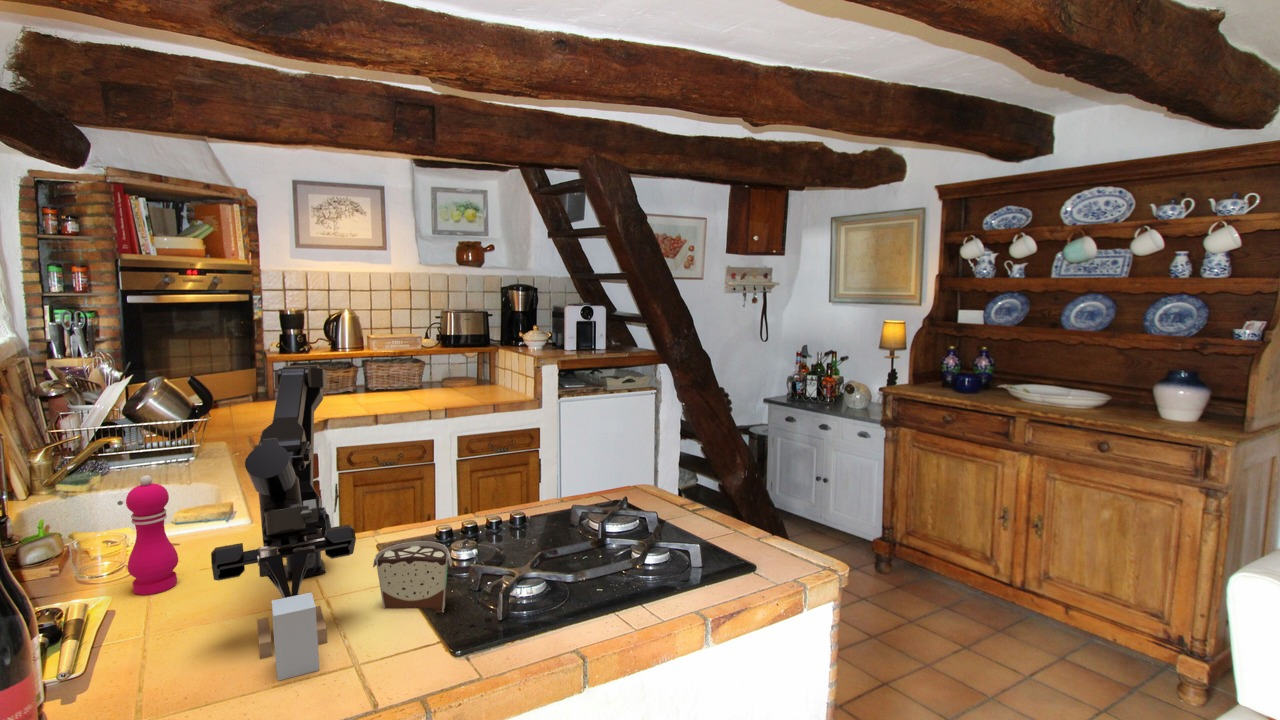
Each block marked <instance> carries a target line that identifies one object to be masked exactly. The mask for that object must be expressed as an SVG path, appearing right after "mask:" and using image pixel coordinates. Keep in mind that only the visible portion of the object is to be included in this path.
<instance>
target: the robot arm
mask: <svg viewBox="0 0 1280 720" xmlns="http://www.w3.org/2000/svg"><path fill="white" fill-rule="evenodd" d="M273 377H274V390H275V391H277V395H276V400H275V406H274V412H273V418H272V422H271V423H270V424H269V425H268V426H266V427H265V428H264V429H263V430H262V431H261V434H260V438H259V440H258V444H255V446H254V447H253V449H252V450H251V451H250V452H249V454H248V455H247V457H246V458H245V460H244V467H245V470H246V471H247V474H248V476H249V479H250V481H251V484H252V485H253V487H254V489H255V491H256V492H257V493H258V499H259V500H258V501H259V511H260V513H259V515H260V522H261V525H260V526H261V533H262V543H263V544H262V545H263V546H261V547H258V548H256V549H249V550H244V544H243V542H241V543H234V544H230V545H222V546H217V547H214V549H213V550H212V551H211V552H210V559H211V570H212V575H213V581H218V582H219V581H223V580H228V579H234V578H239V577H241V575H242V574H244V572H245V571H246V569H245V566H247V565H253V564H254V565H255V564H257V566H258V569H259V570H258V572H259V573H258V574H259V577H260V578H266V577H267V578H268V579H269V580H270V581H271V584H273V585H274V586H275V588H276V589H277V590H278V592H279V594H280V595H281V598H287V597H292V596H296V595H300V594H299V593H300V589H301V584H302V582H303V579H304V578H308V577H312V576H318V575H323V574H326V572H327V570H326V567H325V563H324V560H323V558H322V551H324V554H325V556H327V557H328V558H330V559H332V560H333V559H339V558H344V557H348V556H350V555H353V554H354V551H355V545H356V540H357V537H356V531H355V528H354V526H352V525H350V524H345V525H337V526H333V527H332V524H331V518H330V515H329V514H328V513H327V510H326V506H325V507H323V499H321V497H320V496H319V494H318V493H317V491H316V489H315V488H314V458H315V457H314V452H315V451H314V447H315V446H314V445H315V444H314V443H315V440H314V439H315V411H316V410H317V409H318V407H319V406H320V404H321V403H322V401H323V400H324V389H327V387H328V377H327V371H326V369H324V368H321V367H320V365H319V364H309V365H307V364H306V365H303V364H301V365H284V366H283V367H282V368H278V369H277V370H274V371H273ZM284 558H285V559H286V560H285V561H286V564H284V560H283V559H284ZM289 581H291V590H290V586H289Z"/></svg>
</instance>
